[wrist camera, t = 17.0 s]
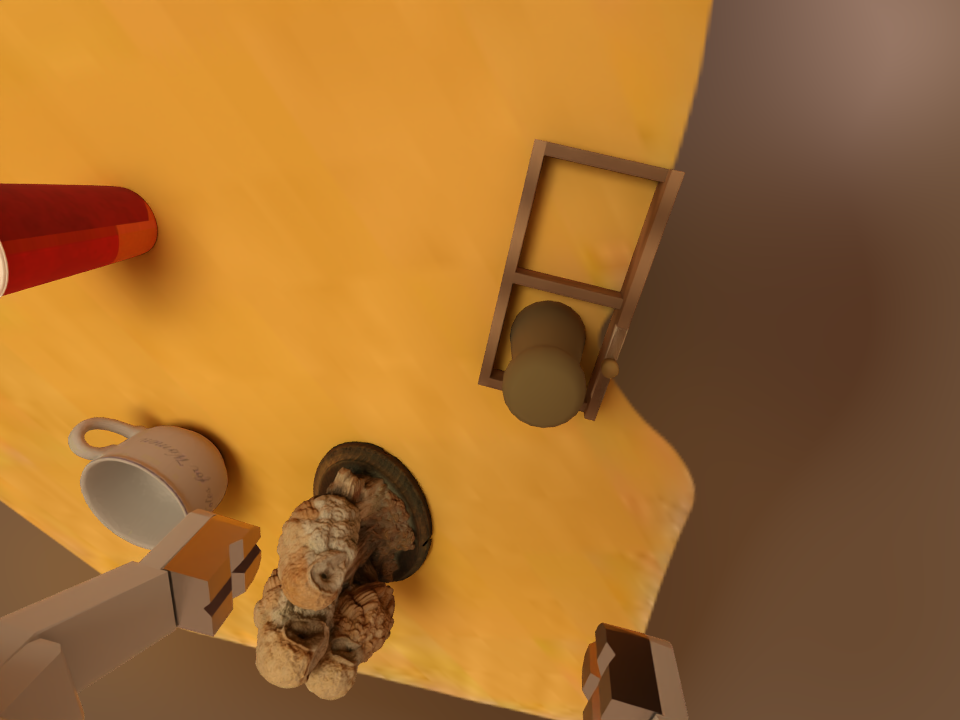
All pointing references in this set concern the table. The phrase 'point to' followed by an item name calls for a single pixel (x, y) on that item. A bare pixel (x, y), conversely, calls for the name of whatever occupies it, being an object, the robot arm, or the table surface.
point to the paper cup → (68, 231)
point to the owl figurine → (340, 570)
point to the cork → (545, 365)
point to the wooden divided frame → (610, 298)
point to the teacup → (148, 478)
